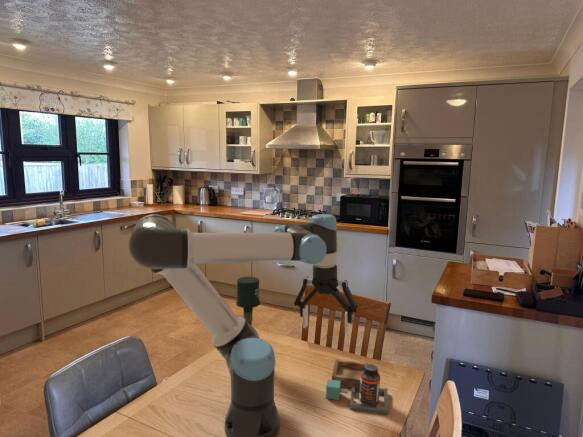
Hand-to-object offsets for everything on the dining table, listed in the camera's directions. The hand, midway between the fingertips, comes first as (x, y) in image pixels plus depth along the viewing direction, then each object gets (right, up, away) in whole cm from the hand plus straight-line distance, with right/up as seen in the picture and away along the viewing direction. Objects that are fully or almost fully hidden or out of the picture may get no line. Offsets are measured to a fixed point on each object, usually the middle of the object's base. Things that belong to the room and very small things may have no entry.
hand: (326, 329), depth 131 cm
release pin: (+3, -20, -3) cm, 21 cm away
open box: (+9, -19, +8) cm, 22 cm away
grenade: (-27, -16, +20) cm, 37 cm away
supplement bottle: (+13, -21, -4) cm, 25 cm away
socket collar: (+13, -21, -4) cm, 25 cm away
